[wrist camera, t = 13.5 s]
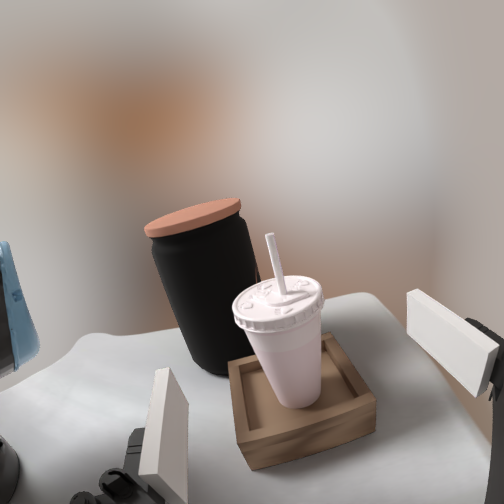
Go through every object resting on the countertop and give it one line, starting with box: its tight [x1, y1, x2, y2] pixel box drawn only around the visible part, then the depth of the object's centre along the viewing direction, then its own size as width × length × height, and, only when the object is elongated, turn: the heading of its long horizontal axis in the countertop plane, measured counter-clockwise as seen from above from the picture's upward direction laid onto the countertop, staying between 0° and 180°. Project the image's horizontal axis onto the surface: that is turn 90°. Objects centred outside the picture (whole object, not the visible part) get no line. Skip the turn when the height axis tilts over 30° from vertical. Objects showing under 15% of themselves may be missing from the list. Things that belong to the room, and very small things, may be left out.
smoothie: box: [232, 233, 325, 409], centre depth 22 cm, size 6×6×14 cm
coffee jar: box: [144, 198, 261, 375], centre depth 34 cm, size 11×11×18 cm
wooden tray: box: [228, 332, 376, 470], centre depth 24 cm, size 10×10×4 cm
